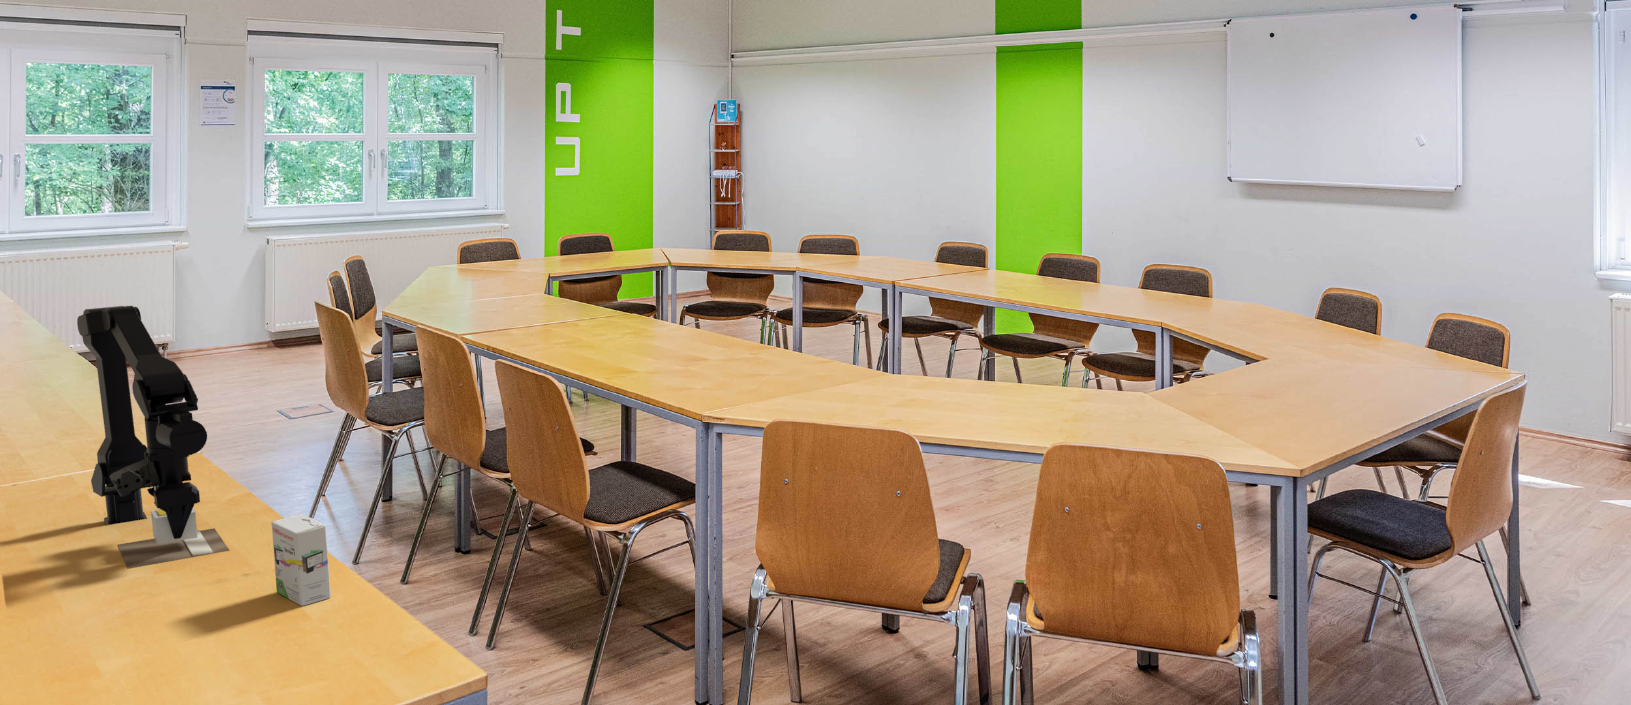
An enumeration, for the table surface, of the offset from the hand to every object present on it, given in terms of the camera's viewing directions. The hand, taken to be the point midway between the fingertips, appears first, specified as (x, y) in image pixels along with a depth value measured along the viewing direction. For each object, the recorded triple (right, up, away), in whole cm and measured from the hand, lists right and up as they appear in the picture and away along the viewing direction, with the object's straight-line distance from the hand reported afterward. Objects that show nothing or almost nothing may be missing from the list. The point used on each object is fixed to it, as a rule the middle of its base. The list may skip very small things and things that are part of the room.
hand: (175, 533), depth 202 cm
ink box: (+29, -7, -17) cm, 35 cm away
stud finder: (0, -1, 0) cm, 0 cm away
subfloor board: (0, -4, 0) cm, 4 cm away
